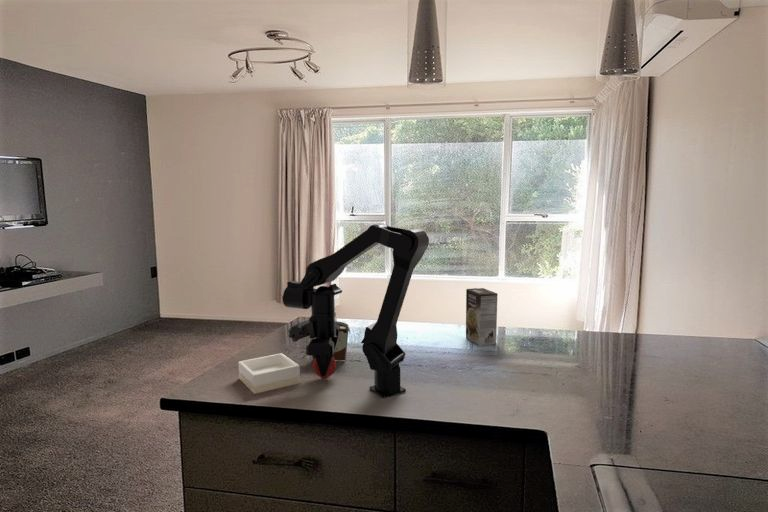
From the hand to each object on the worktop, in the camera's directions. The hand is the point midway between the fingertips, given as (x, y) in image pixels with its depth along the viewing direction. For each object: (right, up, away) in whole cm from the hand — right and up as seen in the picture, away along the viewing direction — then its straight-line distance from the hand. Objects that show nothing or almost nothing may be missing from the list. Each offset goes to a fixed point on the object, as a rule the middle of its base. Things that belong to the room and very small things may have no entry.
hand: (324, 371), depth 123 cm
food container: (0, 0, +17) cm, 17 cm away
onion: (0, -2, 0) cm, 2 cm away
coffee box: (+45, +2, +31) cm, 55 cm away
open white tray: (-14, -2, 0) cm, 14 cm away
